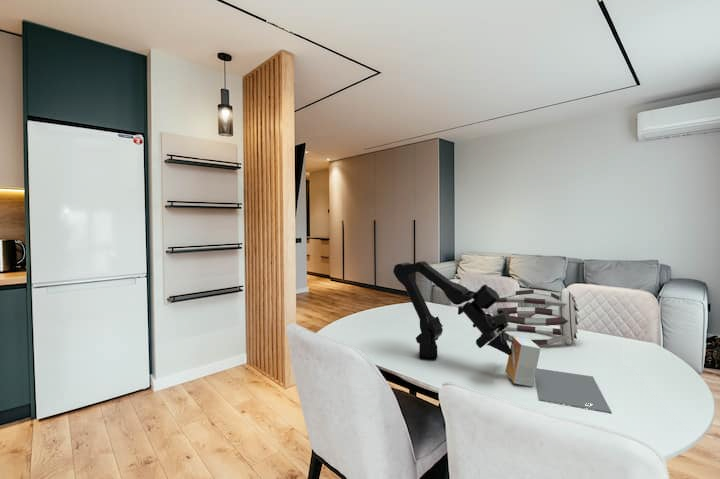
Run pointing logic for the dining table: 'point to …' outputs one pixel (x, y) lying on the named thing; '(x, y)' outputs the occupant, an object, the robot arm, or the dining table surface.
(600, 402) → the mouse pad
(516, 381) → the small box
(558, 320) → the decorative basket
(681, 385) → the dining table surface
